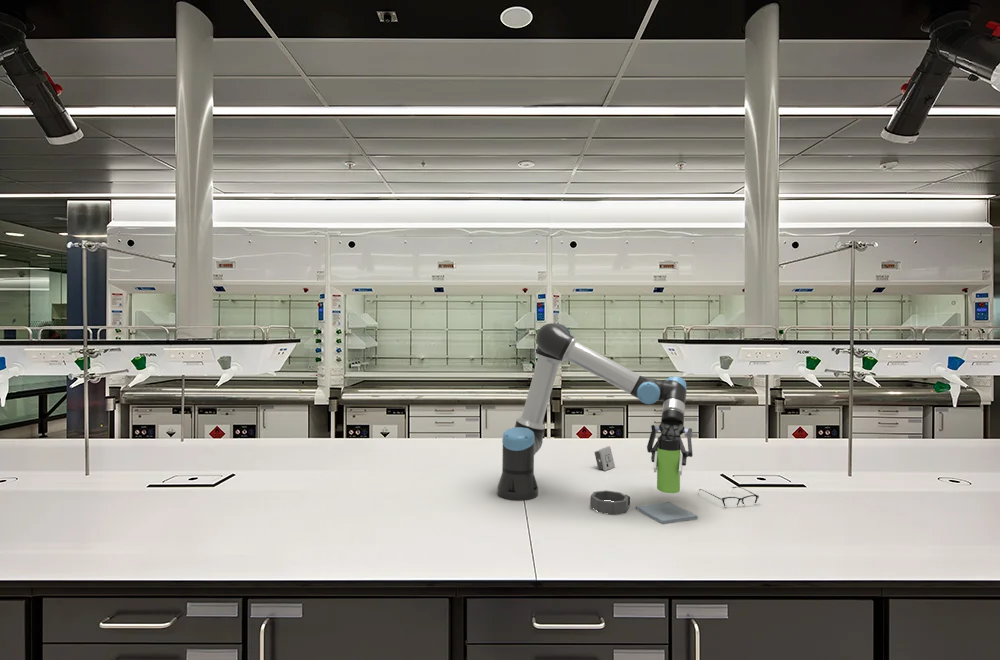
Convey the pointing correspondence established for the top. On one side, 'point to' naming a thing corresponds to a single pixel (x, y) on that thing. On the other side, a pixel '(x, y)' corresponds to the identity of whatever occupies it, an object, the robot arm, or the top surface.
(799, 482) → the top surface
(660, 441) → the green bottle
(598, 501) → the strap ring
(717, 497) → the eyeglasses
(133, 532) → the top surface
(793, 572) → the top surface
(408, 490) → the top surface
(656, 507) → the pad
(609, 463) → the electrical switch
